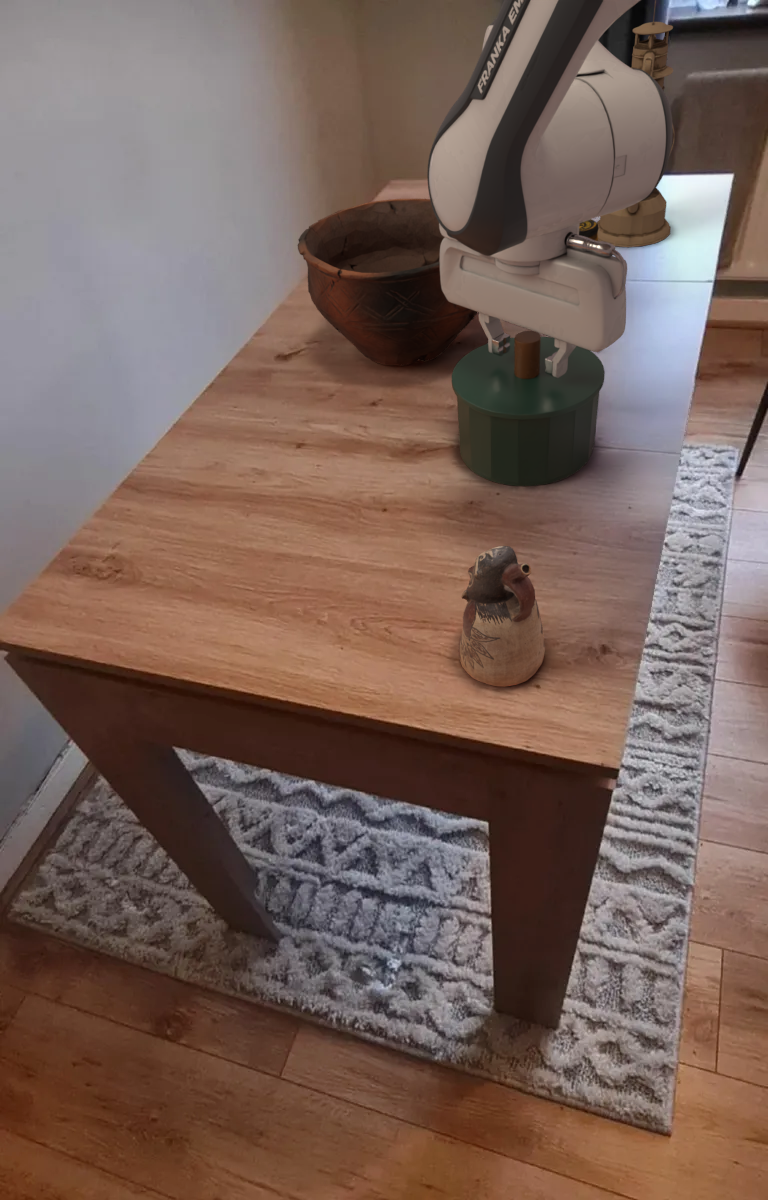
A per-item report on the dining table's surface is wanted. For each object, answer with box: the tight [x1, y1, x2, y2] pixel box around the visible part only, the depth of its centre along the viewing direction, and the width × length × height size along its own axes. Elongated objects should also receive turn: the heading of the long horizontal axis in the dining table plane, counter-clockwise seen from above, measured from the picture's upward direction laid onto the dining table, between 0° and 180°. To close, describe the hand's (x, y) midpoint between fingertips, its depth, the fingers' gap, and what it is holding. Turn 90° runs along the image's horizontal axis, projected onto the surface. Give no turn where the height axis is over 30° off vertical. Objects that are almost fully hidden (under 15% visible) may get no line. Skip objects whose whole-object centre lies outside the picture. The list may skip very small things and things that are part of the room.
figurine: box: [458, 545, 546, 688], centre depth 64 cm, size 7×7×12 cm
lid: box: [451, 330, 606, 420], centre depth 81 cm, size 16×16×5 cm
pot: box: [456, 392, 600, 487], centre depth 86 cm, size 15×15×8 cm
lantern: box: [596, 0, 675, 248], centre depth 115 cm, size 14×12×30 cm
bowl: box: [297, 198, 478, 366], centre depth 103 cm, size 25×25×15 cm
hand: (526, 362), depth 82 cm, fingers open, 6 cm apart
